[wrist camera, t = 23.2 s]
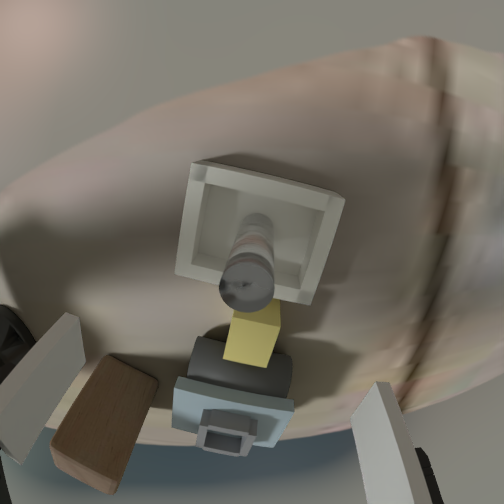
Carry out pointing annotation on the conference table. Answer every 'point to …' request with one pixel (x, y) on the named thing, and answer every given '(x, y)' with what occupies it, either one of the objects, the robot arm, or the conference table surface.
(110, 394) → the block
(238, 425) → the grey plate on cylinders
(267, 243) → the pin
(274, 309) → the yellow cube
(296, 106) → the conference table surface
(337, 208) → the tray
